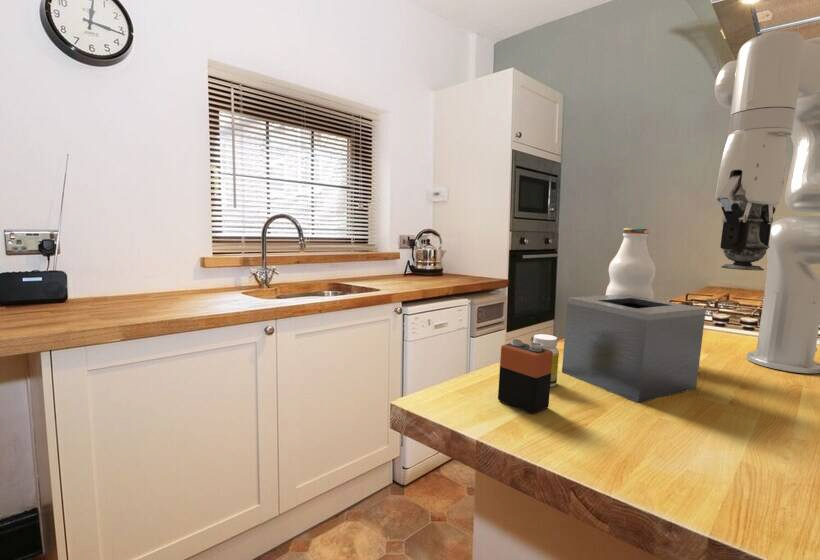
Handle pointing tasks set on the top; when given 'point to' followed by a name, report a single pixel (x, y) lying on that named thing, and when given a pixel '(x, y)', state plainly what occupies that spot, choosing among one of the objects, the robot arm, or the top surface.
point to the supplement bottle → (551, 344)
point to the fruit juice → (632, 266)
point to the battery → (525, 375)
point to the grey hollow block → (633, 345)
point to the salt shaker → (749, 244)
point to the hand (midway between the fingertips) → (744, 248)
